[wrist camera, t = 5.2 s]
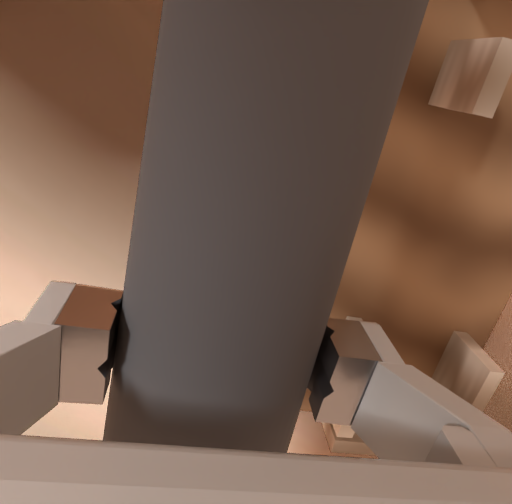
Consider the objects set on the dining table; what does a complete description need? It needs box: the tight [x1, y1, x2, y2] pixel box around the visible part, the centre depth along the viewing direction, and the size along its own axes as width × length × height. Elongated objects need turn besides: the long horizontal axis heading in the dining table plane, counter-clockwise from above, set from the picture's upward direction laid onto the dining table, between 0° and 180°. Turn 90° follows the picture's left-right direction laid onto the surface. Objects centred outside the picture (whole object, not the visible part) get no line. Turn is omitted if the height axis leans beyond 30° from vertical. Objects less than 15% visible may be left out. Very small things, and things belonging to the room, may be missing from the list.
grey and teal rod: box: [103, 0, 429, 453], centre depth 9 cm, size 28×5×5 cm, turn 167°
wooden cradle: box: [300, 0, 512, 456], centre depth 23 cm, size 30×12×5 cm, turn 168°
